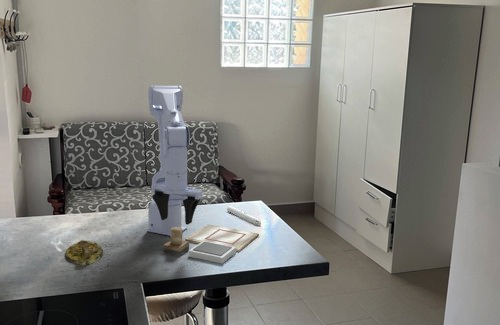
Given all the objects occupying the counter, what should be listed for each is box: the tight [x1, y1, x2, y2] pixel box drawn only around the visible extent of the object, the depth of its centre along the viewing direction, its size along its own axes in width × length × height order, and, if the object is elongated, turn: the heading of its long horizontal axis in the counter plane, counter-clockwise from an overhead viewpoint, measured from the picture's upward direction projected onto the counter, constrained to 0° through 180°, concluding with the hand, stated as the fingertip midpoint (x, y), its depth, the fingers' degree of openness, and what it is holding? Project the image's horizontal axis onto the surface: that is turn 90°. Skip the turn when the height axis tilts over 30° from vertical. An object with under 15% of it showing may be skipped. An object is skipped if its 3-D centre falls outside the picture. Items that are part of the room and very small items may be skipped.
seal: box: [65, 240, 104, 266], centre depth 129 cm, size 9×5×15 cm
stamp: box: [163, 227, 190, 256], centre depth 132 cm, size 5×5×6 cm
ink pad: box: [188, 241, 237, 264], centre depth 131 cm, size 10×8×2 cm
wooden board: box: [184, 224, 260, 252], centre depth 143 cm, size 17×14×1 cm
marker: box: [226, 205, 262, 226], centre depth 161 cm, size 18×2×2 cm, turn 36°
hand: (176, 221), depth 131 cm, fingers open, 7 cm apart
